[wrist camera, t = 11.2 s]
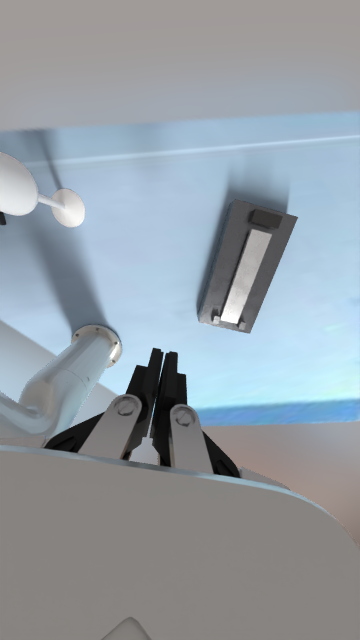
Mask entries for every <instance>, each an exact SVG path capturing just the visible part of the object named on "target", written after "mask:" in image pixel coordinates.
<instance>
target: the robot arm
mask: <svg viewBox="0 0 360 640" xmlns="http://www.w3.org/2000/svg"><path fill="white" fill-rule="evenodd" d="M121 353H122V345H121V342H120V340H119V338H118V337H117V335H116V334H115V333H114V332H113V331H111V330H110V329H108V328H106V327H104V326H101V325H95V324H92V325H86V326H83V327H81V328H80V329H79V330H77V331H76V332H75V333H74V335H73V337H72V340H71V345H70V346H68V347H67V348H66V349H65V350H64V351H63V352H61V353H60V354H59V355H58V356H57V357H56V358H54V359H53V360H52V361H51V362H50V363H48V364H47V365H46V366H45V367H44V368H43V369H41V370H40V371H39V372H38V373H37V374H36V375H34V376H33V377H32V378H31V379H30V380H29V381H28V383H27V384H26V385H25V387H24V389H23V391H22V393H21V396H20V398H19V402H18V403H16V402H15V401H14V400H12V399H11V398H9V397H8V396H6V395H5V394H4V393H2V392H1V391H0V640H360V546H359V544H358V543H357V542H356V540H355V539H354V538H353V536H352V535H351V534H350V533H349V532H348V530H347V529H346V528H345V527H344V526H343V525H342V523H341V522H339V521H338V520H337V519H336V518H335V517H334V516H333V515H332V514H330V513H329V512H328V511H326V510H325V509H323V508H322V507H320V506H319V505H317V504H316V503H314V502H312V501H311V500H309V499H307V498H306V497H304V496H301V495H299V494H297V493H294V492H292V491H291V490H290V489H289V488H288V487H287V486H285V485H283V484H282V483H279V482H277V481H274V480H272V479H270V478H267V477H265V476H263V475H260V474H258V473H255V472H253V471H251V470H248V469H246V468H244V467H241V469H239V468H237V467H236V465H235V464H234V463H233V462H232V460H231V459H230V458H229V457H228V456H227V455H226V454H225V453H224V452H223V451H222V450H221V449H220V448H219V447H218V446H217V445H216V444H215V443H214V442H213V441H212V440H211V439H210V438H209V437H208V436H207V435H206V434H205V433H204V432H203V431H202V429H201V425H200V421H199V417H198V415H197V413H196V411H195V410H194V409H193V408H191V407H190V406H188V405H187V388H186V375H185V374H180V373H177V362H178V353H176V352H171V351H170V352H169V353H166V355H165V360H164V364H163V368H162V372H161V366H162V360H163V354H164V352H161V349H157V348H153V350H152V353H151V357H150V360H149V364H148V367H145V366H140V365H136V368H135V370H134V373H133V376H132V378H131V381H130V383H129V386H128V388H127V391H126V394H123V395H120V396H118V397H116V398H115V399H114V400H113V401H112V402H111V404H110V406H109V407H108V408H107V410H106V411H105V412H103V413H101V414H99V415H97V416H94V417H92V418H90V419H88V420H86V421H84V422H82V423H80V424H77V425H75V426H73V427H71V428H69V427H70V425H71V424H72V422H73V420H74V418H75V417H76V415H77V413H78V411H79V410H80V408H81V407H82V405H83V403H84V402H85V400H86V399H87V397H88V395H89V394H90V393H91V391H92V389H93V388H94V386H95V385H96V383H97V382H98V380H99V378H100V377H101V375H102V374H103V372H104V371H105V369H106V368H109V367H111V366H113V365H114V364H116V362H117V361H118V360H119V358H120V356H121ZM160 372H161V376H160ZM159 378H160V380H159ZM155 399H156V401H155ZM154 404H155V407H154ZM153 408H154V413H153V419H152V425H151V432H150V438H153V443H152V445H153V446H154V448H155V449H156V450H157V452H158V458H157V459H158V465H152V464H146V463H139V462H133V461H129V460H130V457H131V455H132V450H133V449H135V448H136V447H138V446H139V445H140V444H141V442H142V437H146V436H147V433H148V428H149V424H150V420H151V416H152V412H153Z"/></svg>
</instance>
